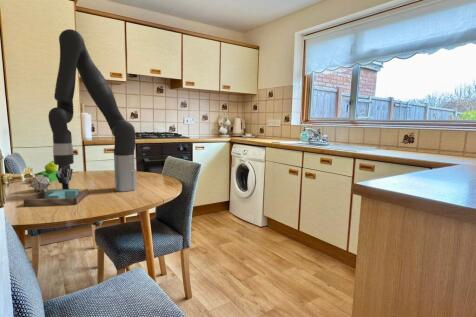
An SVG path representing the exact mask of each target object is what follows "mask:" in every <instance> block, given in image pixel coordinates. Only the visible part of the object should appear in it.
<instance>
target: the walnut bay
mask: <svg viewBox="0 0 476 317" xmlns="http://www.w3.org/2000/svg"><path fill="white" fill-rule="evenodd" d="M87 196H89V189H83V190H82V191H81V192H79V195H77V196H76V197H75V198H55V199H45V190H41V191H40V192H36V193H34V194H32V195H31V196H29V197H27V198H25V199H23V200H22V201H23V207H25V208H26V207H49V206H73V205H74V206H75V205H78V204H79V203H80V202H81V201H83V200H84V199H85V198H86V197H87Z"/></svg>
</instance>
